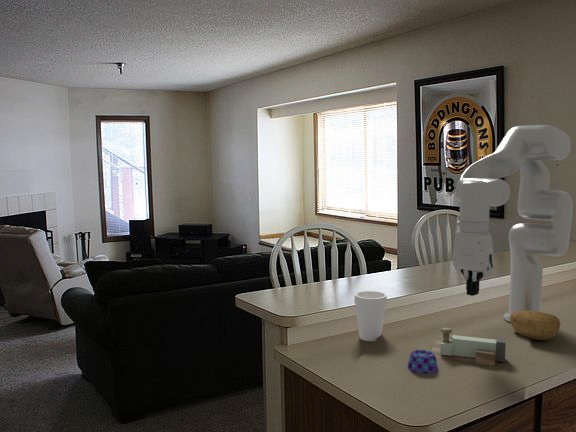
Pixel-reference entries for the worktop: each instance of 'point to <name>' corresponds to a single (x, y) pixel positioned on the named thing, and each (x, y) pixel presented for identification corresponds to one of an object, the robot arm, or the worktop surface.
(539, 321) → the potato
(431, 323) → the worktop surface
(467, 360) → the stool seat
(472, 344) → the leg
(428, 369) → the purple spotted dome
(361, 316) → the foam cup
